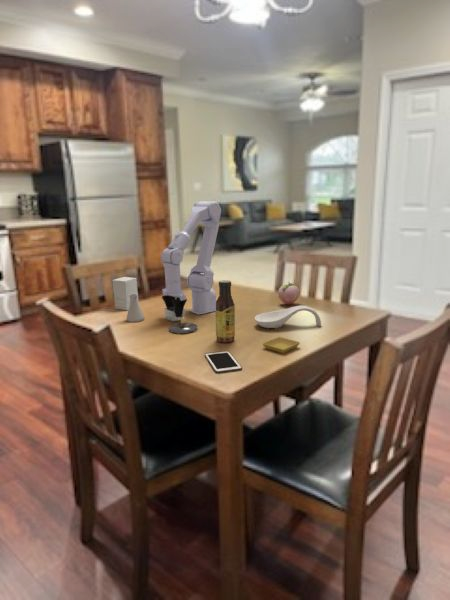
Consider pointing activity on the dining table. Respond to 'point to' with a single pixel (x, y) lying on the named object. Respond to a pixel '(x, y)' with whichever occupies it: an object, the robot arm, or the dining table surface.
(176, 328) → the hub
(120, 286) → the supplement box
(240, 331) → the dining table surface
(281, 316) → the spoon rest
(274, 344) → the saucer
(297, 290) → the decorative fruit
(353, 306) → the dining table surface
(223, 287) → the sauce bottle
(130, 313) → the flask
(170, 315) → the collar
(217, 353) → the cell phone
